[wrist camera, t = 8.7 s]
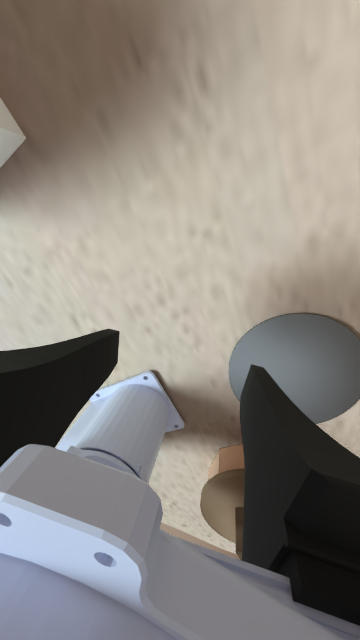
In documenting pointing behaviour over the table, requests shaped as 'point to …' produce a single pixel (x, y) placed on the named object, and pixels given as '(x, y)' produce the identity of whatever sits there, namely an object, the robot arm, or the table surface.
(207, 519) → the lid
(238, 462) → the bowl
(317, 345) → the mat
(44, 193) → the table surface
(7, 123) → the milk
